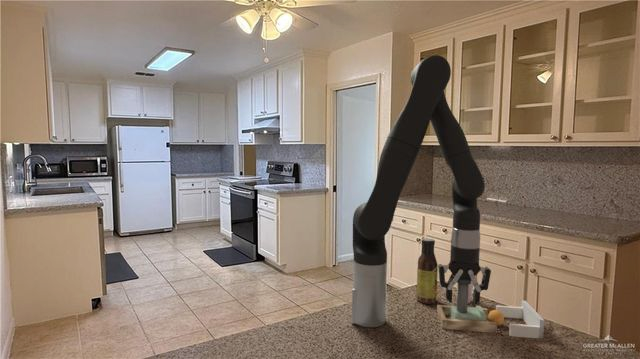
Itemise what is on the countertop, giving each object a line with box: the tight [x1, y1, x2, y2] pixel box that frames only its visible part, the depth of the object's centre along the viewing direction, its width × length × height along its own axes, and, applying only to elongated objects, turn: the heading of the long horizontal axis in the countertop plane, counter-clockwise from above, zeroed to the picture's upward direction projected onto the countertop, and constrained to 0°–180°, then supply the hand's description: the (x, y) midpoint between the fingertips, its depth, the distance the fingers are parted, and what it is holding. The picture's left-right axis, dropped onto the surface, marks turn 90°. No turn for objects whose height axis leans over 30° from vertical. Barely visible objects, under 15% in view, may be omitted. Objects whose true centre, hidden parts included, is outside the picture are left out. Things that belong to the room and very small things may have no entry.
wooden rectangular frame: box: [436, 304, 498, 334], centre depth 111 cm, size 14×10×2 cm
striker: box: [449, 279, 488, 321], centre depth 110 cm, size 8×7×13 cm
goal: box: [495, 300, 545, 339], centre depth 108 cm, size 8×13×5 cm, turn 172°
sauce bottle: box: [416, 238, 439, 305], centre depth 125 cm, size 7×6×20 cm
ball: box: [487, 309, 505, 326], centre depth 109 cm, size 4×4×4 cm
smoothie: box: [456, 275, 477, 304], centre depth 125 cm, size 6×6×14 cm
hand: (462, 302), depth 110 cm, fingers open, 6 cm apart
